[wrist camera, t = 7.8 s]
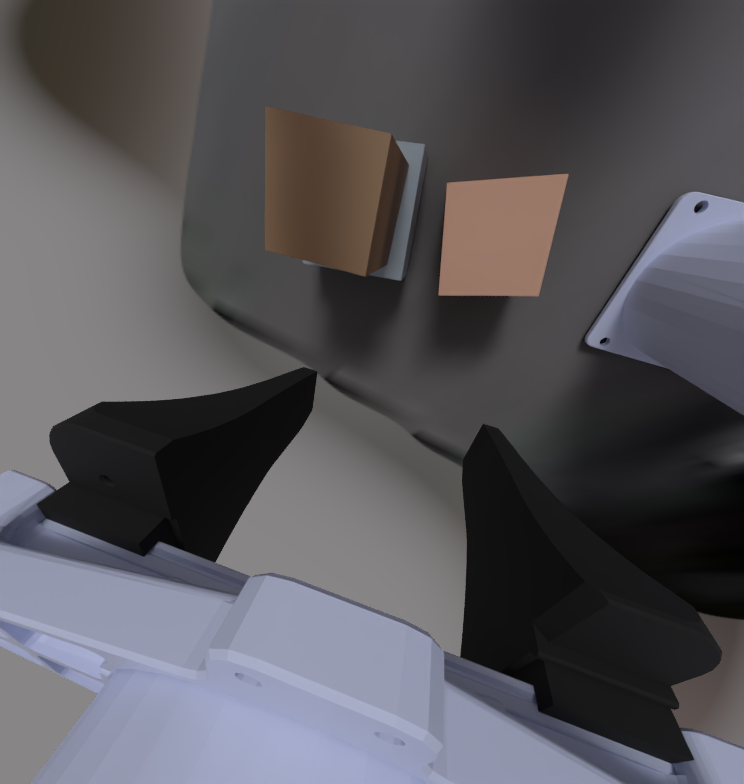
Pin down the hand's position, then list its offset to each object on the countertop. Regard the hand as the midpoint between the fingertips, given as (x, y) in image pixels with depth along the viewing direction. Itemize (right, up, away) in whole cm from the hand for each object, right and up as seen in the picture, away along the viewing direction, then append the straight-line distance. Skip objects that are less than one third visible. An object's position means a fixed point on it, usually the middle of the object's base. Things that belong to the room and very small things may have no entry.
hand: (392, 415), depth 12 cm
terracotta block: (+6, +10, +5) cm, 12 cm away
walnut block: (-2, +11, +3) cm, 11 cm away
